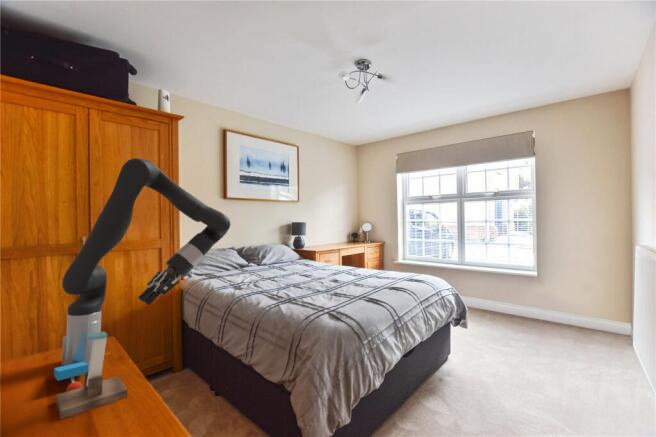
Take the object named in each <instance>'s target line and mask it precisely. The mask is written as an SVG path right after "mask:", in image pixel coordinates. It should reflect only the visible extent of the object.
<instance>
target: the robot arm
mask: <svg viewBox="0 0 656 437" xmlns="http://www.w3.org/2000/svg"><path fill="white" fill-rule="evenodd" d="M144 187H147V188H149V189H151V190H154V191H156V192H157V193H159V194H160V195H162V196H163V197H164V198H166V199H167V201H169V203H171V204H172V205H173V206H174V208H176V209H177V210H178V211H180V212H181V213H182V214H183V215H185V216H187V217H188V218H189V219H191V220H192V221H194V222H197V223H202V224H204V225H206V226H205V227H204V228H203V229H202V231H201V232H197V233H196V234H195V235H194V236H192V238H190V240H189V241H188V242H187V243H185V244H184V245H183V246H181V247H180V249H178V250H177V251H176V252H175V253H174V254H173V255H172V256H171V257H169V259H168V260H167V261H165V262H166V263H165V264H166V266H167V268H165V269H164V270H163V271H161V270H158V271H157V272H156V274H155V275H153V277H152V278H151V279H150V281H149V282H147V284H146V285H147V288H146V289H145V290H144V291H143V292H142V293H141V294H140V295H138V298H137V299H139V301H141V302H143V303H145V304H146V305H147V306H150V305H152V304H153V302H154V301H155V300H157V299H158V297H159V296H162V295H163V296H165V295H166V294H168V292H170V291H171V290H172V289H174V287H175V286H177V285H178V284H179V283H180V280H179V277H182V278H185V277H186V276H187V275H189V273H190V272H191V271H192V270H193V269H194V268H195V267H196V265H198V263H199V262H201V261H202V258H203V257H204V256H205V255H206V254H208V252H209V251H210V250H211V249H212V247H213V246H215V244H217V242H219V241H220V240H221V239H222V238H223V237H224V236H225V235H226V234H227V233H228V231H229V229H230V227H231V221H230V219H229V217H228V216H227V215H226V214H224V213H223V212H221V211H219V210H217V209H215V208H213V207H210V206H209V205H207V204H206V203H204V202H203V201H201V200H200V199H198V198H197V197H196V196H194V195H192V194H191V193H190V192H188V191H187V190H185V189H183V187H181V186H180V185H178V184H177V183H176V182H174V181H173V180H172V179H171V178H169V177H168V176H167V175H166V174H165V173H164V172H163V171H162V170H161V169H160V168H159V167H158V166H157V164H155V163H154V162H152V161H151V160H148V159H143V158H137V157H136V158H131V159H128V160H127V161H126V162H124V164H123V165H122V166H121V169H120V171H119V173H118V177H117V180H116V182H115V185H114V188H113V189H112V191H111V194H110V196H109V197H108V199H107V200H106V202H105V205H104V207H103V208H102V210H101V212H100V214H99V215H98V217H97V219H96V221H95V223H94V225H93V227H92V229H91V231H90V233H89V235H88V237H87V239H86V240H85V242H84V244H83V246H82V247H81V248H80V251H79V253H77V256H76V257H75V258H74V260H73V261H72V263H71V264H70V266H69V267H68V268H67V270H66V271H65V273H64V276H63V279H62V288H63V290H64V292H65V294H68V295H70V296H77V295H78V297H77V298H76V299H75V301H73V302H72V303H70V304H69V305H68V307H67V317H66V335H65V336H63V337H62V348H61V349H62V351H61V353H62V354H61V366H66V365H70V364H74V363H79V362H84V363H87V364H89V365H90V359H91V352H92V346H93V340H89V339H88V338H87V334H89V333H96V332H102V330H101V328H102V309H103V304H104V302H105V299H106V293H107V292H106V290H107V284H108V282H107V281H108V277H107V272H106V270H105V268H104V267H102V266H101V265H99V263H100V262H101V260H103V258H104V257H106V255H108V253H110V252H111V251H112V250H113V249H115V247H117V246H118V245H119V244H120V242H122V240H123V239H124V237H125V235H126V233H127V231H128V230H129V227H130V226H131V223H132V220H133V212H134V206H135V202H136V201H137V198H138V197H139V195H140V193H141V192H142V190H143V189H144Z"/></svg>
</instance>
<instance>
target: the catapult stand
mask: <svg viewBox="0 0 656 437" xmlns="http://www.w3.org/2000/svg"><path fill="white" fill-rule="evenodd" d="M83 376H84V379H83V386H82V387H81V388H78V389H74V390H71V391H68V392H67V391H65V392H61V393H58V394H56V395H55V397H56V398H55V403H56V408H57V410H58V414H59V417H60V420H64V419H67V418H70V417H73V416H75V415H78V414H81V413H83V412H88V411H89V410H93V409H95V408H98V407H101V406H104V405H107V404H109V403H112V402H116V401H118V400H121V399H124V398H127V397H128V388H127V387H126V386H125V384H124V382H123V380H121V379H120V376H115V377H112V378H109V379H105V380H104V376H103V374H101V375H100V376H97V377H93V378H90V379H88V386H87V378H88V371H86V372H85V374H83Z"/></svg>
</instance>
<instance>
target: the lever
mask: <svg viewBox="0 0 656 437" xmlns="http://www.w3.org/2000/svg"><path fill="white" fill-rule="evenodd" d="M89 365H90V364H87V363H84V362H79V363H74V364H70V365H66V366H65V365H61V366H58V367H55V368H53V377H54V378H55V380H57V381H62V380H66V379H70V380H71V381H70V382H71V383H69V384H68V386H67V387H66V391H65V392H68V391H71V390H74V389H78V388H81V387H83V384H82V383H81V381H75V377H78V376H81V375H82V376H83V375H84V374H85V372H86V371H89Z"/></svg>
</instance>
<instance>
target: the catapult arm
mask: <svg viewBox="0 0 656 437" xmlns="http://www.w3.org/2000/svg"><path fill="white" fill-rule="evenodd" d="M87 338H88V339H89V340H93V346H92V352H91V359H90V364H89V371H88V378H87V386H88V379H90V378H93V377H97V376H100V375H102V372H103V367H104V366H103V365H104V357H105V352H106V348H107V347H106V346H107V339H108V333H107V332H106V331H104V330H103V331H101V332H96V333H89V334H87Z"/></svg>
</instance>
